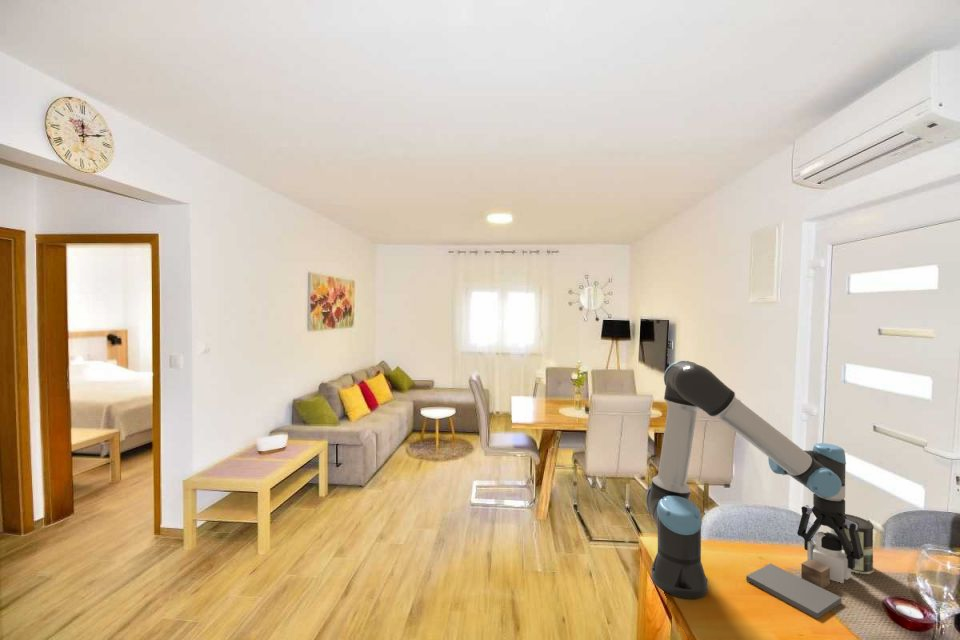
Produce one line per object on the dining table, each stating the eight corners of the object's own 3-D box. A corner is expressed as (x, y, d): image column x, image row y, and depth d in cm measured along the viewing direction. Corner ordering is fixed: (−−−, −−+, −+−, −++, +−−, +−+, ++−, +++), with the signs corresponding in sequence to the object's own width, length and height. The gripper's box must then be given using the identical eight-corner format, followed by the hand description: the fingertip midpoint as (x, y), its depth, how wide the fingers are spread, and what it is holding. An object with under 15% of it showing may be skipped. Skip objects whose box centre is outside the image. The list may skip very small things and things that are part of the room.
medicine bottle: (844, 573, 128) (844, 534, 128) (843, 584, 123) (843, 543, 123) (815, 564, 133) (815, 526, 133) (812, 574, 128) (812, 535, 128)
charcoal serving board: (746, 580, 125) (746, 575, 125) (770, 568, 131) (770, 563, 131) (817, 619, 109) (817, 613, 109) (841, 602, 115) (841, 597, 115)
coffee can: (858, 557, 137) (859, 514, 137) (882, 576, 127) (882, 530, 127) (822, 553, 139) (822, 511, 139) (842, 572, 129) (843, 526, 129)
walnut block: (801, 579, 125) (801, 563, 125) (810, 575, 128) (810, 558, 128) (821, 589, 121) (821, 572, 121) (829, 584, 123) (829, 567, 123)
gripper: (880, 507, 120) (879, 585, 121) (795, 481, 139) (795, 549, 139) (868, 513, 117) (867, 593, 117) (783, 485, 136) (783, 555, 136)
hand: (828, 569), depth 128 cm, fingers closed on medicine bottle, 8 cm apart
